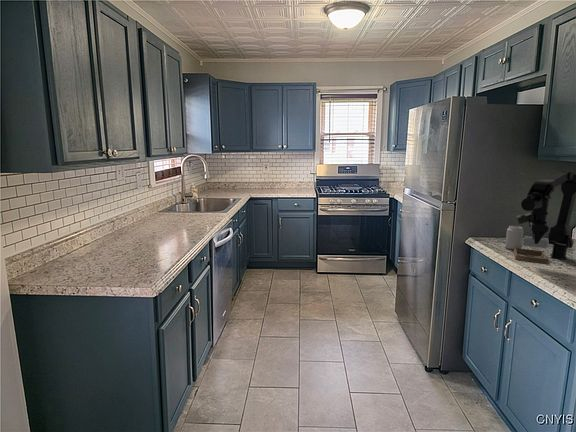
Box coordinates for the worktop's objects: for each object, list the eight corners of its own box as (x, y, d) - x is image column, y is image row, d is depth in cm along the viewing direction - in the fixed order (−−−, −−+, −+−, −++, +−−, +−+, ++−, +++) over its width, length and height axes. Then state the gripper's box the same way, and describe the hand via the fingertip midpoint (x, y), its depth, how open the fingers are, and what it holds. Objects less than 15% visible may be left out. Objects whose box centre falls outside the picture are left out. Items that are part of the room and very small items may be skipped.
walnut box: (513, 251, 192) (514, 247, 191) (542, 255, 186) (543, 251, 185) (515, 259, 179) (515, 255, 179) (546, 263, 173) (547, 259, 173)
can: (524, 250, 193) (527, 228, 191) (510, 250, 193) (513, 228, 191) (515, 246, 201) (518, 225, 198) (501, 246, 201) (504, 225, 198)
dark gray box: (523, 242, 174) (524, 235, 174) (546, 245, 169) (547, 238, 169) (523, 245, 170) (524, 237, 170) (546, 248, 165) (547, 240, 165)
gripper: (517, 204, 178) (513, 235, 181) (520, 210, 162) (516, 245, 165) (545, 206, 173) (540, 238, 176) (551, 213, 157) (546, 248, 160)
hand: (535, 242), depth 170 cm, fingers closed on dark gray box, 5 cm apart
